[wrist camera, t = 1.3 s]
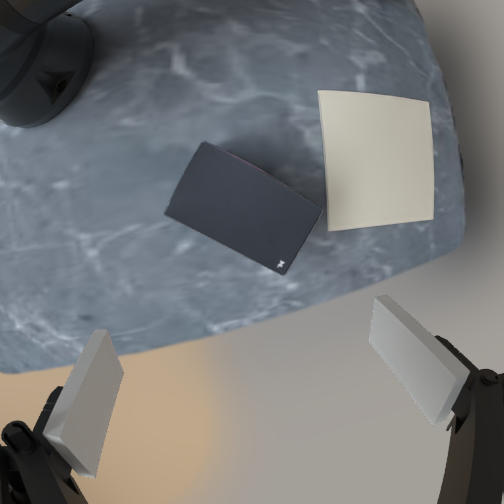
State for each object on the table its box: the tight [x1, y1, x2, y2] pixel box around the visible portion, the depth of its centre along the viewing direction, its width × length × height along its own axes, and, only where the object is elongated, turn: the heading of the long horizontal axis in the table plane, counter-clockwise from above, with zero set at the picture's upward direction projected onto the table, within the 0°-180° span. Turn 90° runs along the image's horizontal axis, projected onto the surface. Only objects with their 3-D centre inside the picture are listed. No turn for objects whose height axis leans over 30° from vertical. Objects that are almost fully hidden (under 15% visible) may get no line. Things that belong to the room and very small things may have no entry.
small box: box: [164, 141, 323, 276], centre depth 26 cm, size 11×6×10 cm, turn 60°
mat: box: [317, 90, 434, 231], centre depth 31 cm, size 16×16×1 cm
